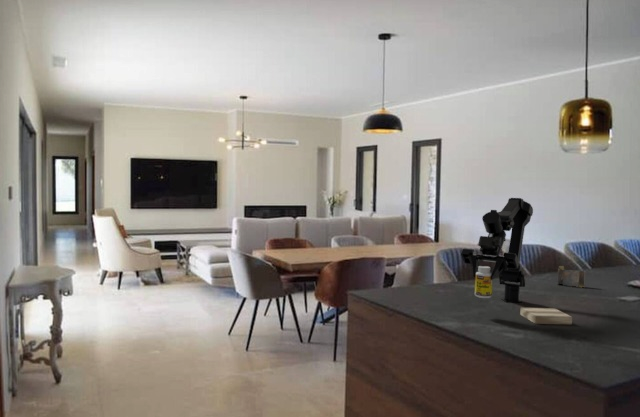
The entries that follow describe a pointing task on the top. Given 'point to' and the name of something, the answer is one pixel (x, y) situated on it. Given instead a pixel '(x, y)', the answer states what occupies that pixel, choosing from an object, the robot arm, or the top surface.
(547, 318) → the birch base
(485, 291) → the supplement bottle
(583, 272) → the architectural model on board
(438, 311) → the top surface
